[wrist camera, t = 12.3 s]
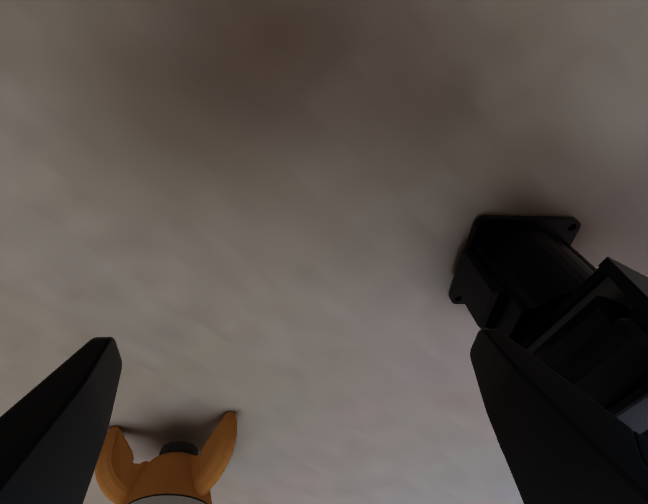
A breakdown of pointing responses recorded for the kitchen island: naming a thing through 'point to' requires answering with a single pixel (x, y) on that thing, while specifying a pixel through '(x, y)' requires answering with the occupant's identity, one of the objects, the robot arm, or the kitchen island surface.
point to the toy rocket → (165, 468)
